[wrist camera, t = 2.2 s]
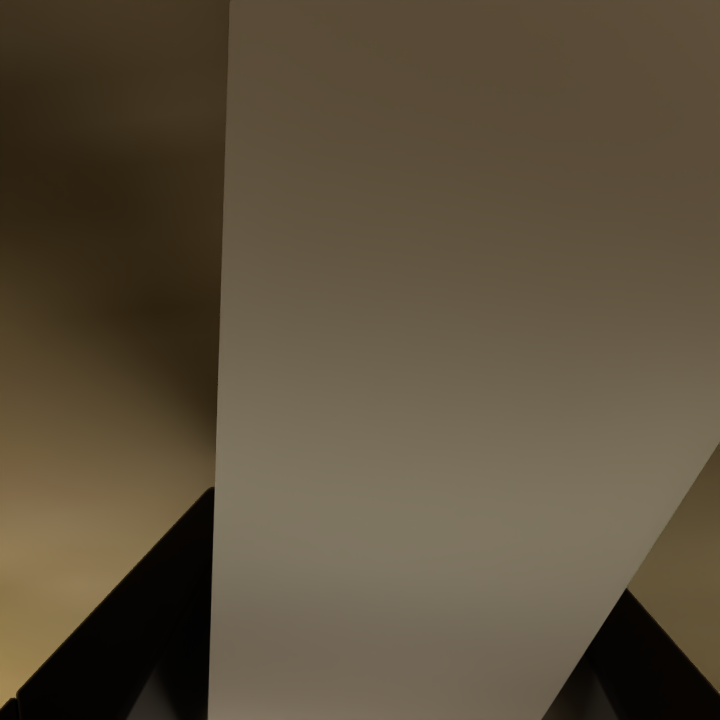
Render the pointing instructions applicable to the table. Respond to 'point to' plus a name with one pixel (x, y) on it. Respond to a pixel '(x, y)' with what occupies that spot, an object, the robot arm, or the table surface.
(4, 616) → the table surface
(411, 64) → the rail
